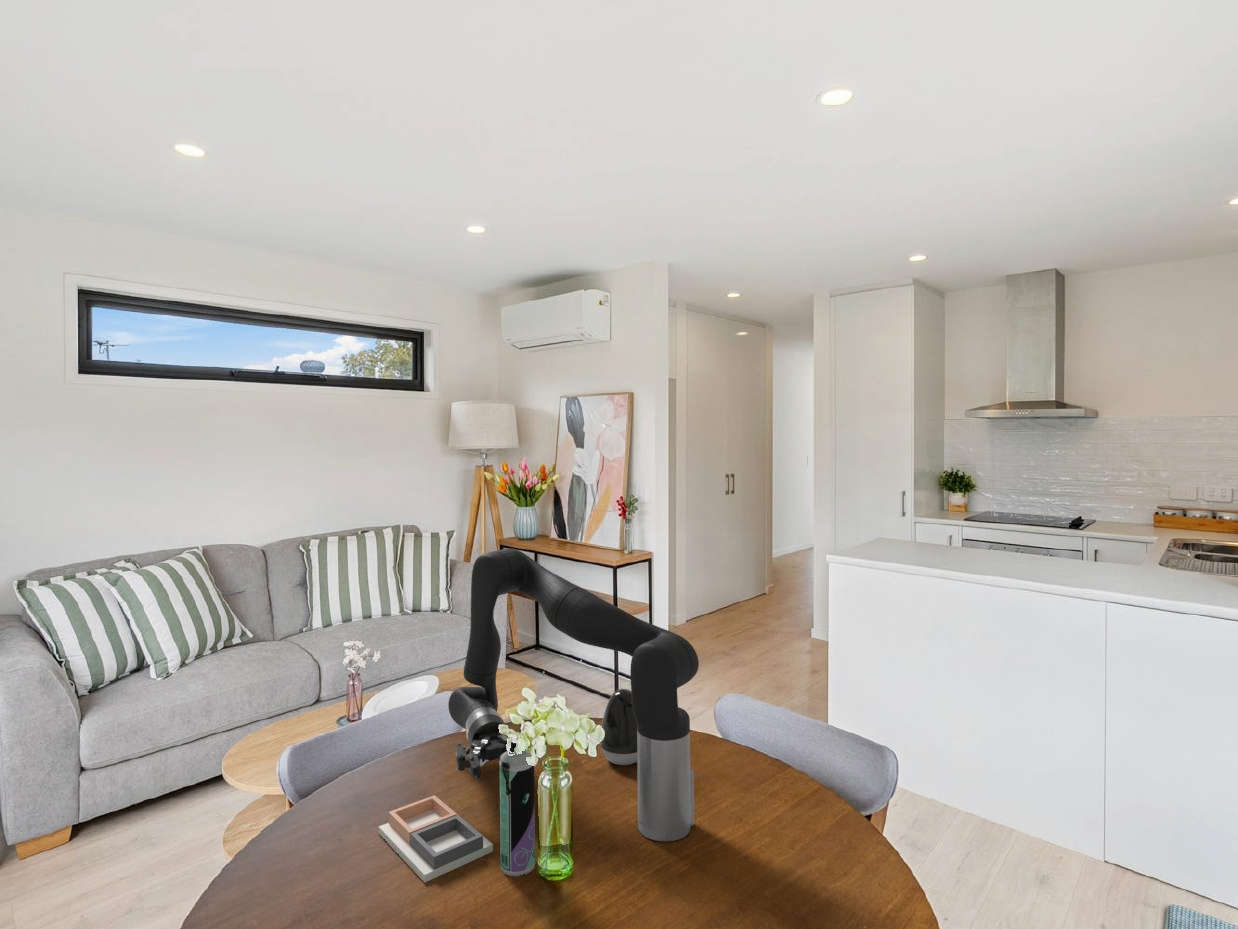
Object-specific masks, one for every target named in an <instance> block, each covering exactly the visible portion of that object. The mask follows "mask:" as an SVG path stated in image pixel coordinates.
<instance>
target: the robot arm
mask: <svg viewBox="0 0 1238 929" xmlns="http://www.w3.org/2000/svg"><path fill="white" fill-rule="evenodd" d="M472 566H473V567H472V572H471V583H470V584H471V585H470V628H469V629H470V630H469V631H470V632H469V640H468V646H467V650H466V657H465V662H464V666H463V678H464V679H465V681H467V682H468V683H470V684H471V685H474V686H461V687H458V688H456V689H455V690H453V692H451V694H450V696H449V699H448V705H447V706H448V711H449V715H450V717H451V719H452V720H453V721H454V723H456V724H457V725H459V726H460V727H462V728H463V729H465V734H466V740H467V742H468V744H469V745H470V746H466V745H463V743H457V744H455V759H456V765H457V771H459V772H462V771H465V770H466V769H468V771H470V773H471V776H472V777H475V778H476V779H481V778H482V770H481V769H482V767H483V765H485V764H486V763H487V762H489V761H490V762H492V761H495V760H500V756H501V755H502V754H503V753H504V752H506V751H507V750H506V744H507V737H506V736H505V735H501V734H500V733H499V729H498V725H499V724H505V725H506V726H507V724H506V723H505V721H504V719H503V717H502V716H501V714H500V713H499V712H498V708H499V702H498V701H499V700H498V691H497V671H498V666H499V661H500V656H501V650H502V645H501V644H502V641H501V636H500V633H499V631H498V628H497V625H496V623H495V618H494V612H495V606H496V603H497V600H498V598H499V597H500V596H502V595H503V596H504V595H505V594H506V595H507V594H510V593H513V592H516V593H520V594H524V595H525V596H527V597H529V598H532V599H533V600H534V601H536V602H537V603H538V604H539V605H540V607H541V610H542V612H543V614H544V617H545V619H547V622H549V624H550V625H551V626H552V627H554V628H555V629H556V630H557V631H560V632H561V633H563V634H565V635H566V636H568V637H570V638H572V639H573V640H575V641H577V642H579V643H582V644H584V645H588V646H592V647H597V648H601V649H607V650H610V651H615V652H621V653H624V654H626V655H629V656H630V657H632V658H631V662H630V691H631V694H632V708H633V713H634V716H635V718H636V721H637V762H636V763H637V829H638V831H639V832H640V833H641V835H642V836H644V837H645V838H647V839H650V840H653V841H657V842H674V841H678V840H681V839H683V838H685V837H686V836H687V835H688V834H689V833H690V831H691V827H692V826H694V825H695V772H694V770H693V769H691V742H690V741H691V740H690V739H691V736H690V735H691V732H690V731H691V727H690V726H691V720H690V719H691V718H690V715H689V713H688V712H687V711H686V710H685V709H684V708H682V707H679V701H678V689H679V688H681V687H682V686H684V685H686V684H688V683H689V682H690V681H691V680H692V679H694V677H695V676H696V675H697V672H698V671H699V666H700V662H699V656H698V654H697V651H696V649H695V648H694V646H693V645H692V644H691V642H689V641H688V640H687V639H685V638H684V637H683V636H682V635H679V634H678V633H675V632H673V631H670V630H667V629H665V628H662V627H660V626H657V625H655V624H652V623H649V622H647V621H645V620H643V619H640V618H638V617H636V616H635V615H632V614H631V613H629V612H626V611H625V610H623V609H622V608H619V607H617V606H616V605H613V604H612V603H610V602H609V601H606V600H604V599H603V598H601V597H599V596H598V595H596V594H594V593H593V592H590V591H589V590H587V589H585V588H584V587H581V586H579V585H577V584H575V583H572V582H571V581H569V580H567V579H566V578H564V577H562V576H560V575H558V574H556V573H554V572H552V571H550V570H549V569H547V568H546V567H544V566H543V565H541V564H540V563H539V562H537V561H536V560H535V559H533V558H532V557H530V556H528V555H527V554H525V553H524V552H522V551H521V550H518V549H515V548H503V549H498V550H494V551H488V552H485V553H482V554H480V555H479V556H478V557H477V558H476V559H475V561H474V562H473V565H472Z"/></svg>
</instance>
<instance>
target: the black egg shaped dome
mask: <svg viewBox="0 0 1238 929" xmlns="http://www.w3.org/2000/svg"><path fill="white" fill-rule="evenodd" d="M601 726H602V728H603V729H604V730H605V738H604V740H603V741H602V742H600V741H599V746H600V748H601V750H602V753H603V756H604V757H605V758H606V760H607V761H609V762H610V763H612V764H615V765H616V766H629V765H632V764H635V763H637V721H636V718H635V716H634V713H633V708H632V694H631V689H630V690H629V689H627V688H619V689H617V690H616V691H614V692H613V693H612V694H611V696H610V698H609V699H608V702H607V704H606V707H605V710H604V712H603V718H602V721H601Z"/></svg>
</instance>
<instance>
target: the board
mask: <svg viewBox="0 0 1238 929" xmlns="http://www.w3.org/2000/svg"><path fill="white" fill-rule="evenodd" d="M378 834H379V836H380V837H382V838H383V840H384V839H385V840H384V841H387V842H386V843H387V844H388V845H389V846H390V848H392V849H393V851H394V852H395V853H396V854H399V857H400V858H401V859H402V860H403V862H405V863H406V864H407V865H408V866H409V868H410V869H411V870H412V871H413V872H414V873H415V874H416V876H418V877H419V878H420V879H421V880H422V882H423V883H427V882H429V881H432V880H434V879H436V878H438V877H440V876H442V875H445V874H447V873H449V872H451V871H453V870H456V869H458V868H460V867H463V866H464V865H466V864H469V863H471V862H473V861H476V860H478V859H480V858H482V857H484V856H486V855H488V854H491V853H493V852H494V844H493V843H492V842H491V841H490V840H488V838H487V837H485V836H484V835H483V834H482V833H480V832H479V831H478V830H477V829H476V828H475V827H473V826H472V825H471V824H470V823H469V822H467V821H466V820H465V819H463V817H461V816H460V815H459V814H458V813H457V812H455V811H454V810H453V809H452V808H450V807H449V806H448V805H447V804H446V803H444V802H443V801H442V800H441V799H440V798H438V797H437V796H436V794H435V795H431V796H428V797H426V798H422V799H420V800H417V801H416V802H412V803H409V804H407V805H404V806H401V807H399V808H396V809H392V810H390V811H388V822H387V823H384V824H381V825H379V826H378Z"/></svg>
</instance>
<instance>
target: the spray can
mask: <svg viewBox="0 0 1238 929" xmlns="http://www.w3.org/2000/svg"><path fill="white" fill-rule="evenodd" d="M515 747H516V743H513V742H511V748H510V751H511V752H512V753H510V752H509V754H514V753H513V752H514V748H515ZM531 756H532V755H531V753H530V752H529V750H526V749H525V751H522V754H518V755H513V756H509V755H508V751H506V752H504V753H503V754H502V755H501V756H500V759H499V829H500V830H499V835H500V836H499V839H500V840H499V842H500V848H499V850H500V855H499V856H500V870H501V872H502V873H503V874H505V875H506V876H509V877H520V875H521V876H524V875H523V874H525V875H527V874H529V873H531V872H532V871H533V870H534V869H535V867H536V819H535V818H536V810H535V809H536V808H535V807H536V804H535V799H536V798H535V796H536V795H535V791H536V790H535V765H534V766H531V765H528V763H527V761H526V757H531Z"/></svg>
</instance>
